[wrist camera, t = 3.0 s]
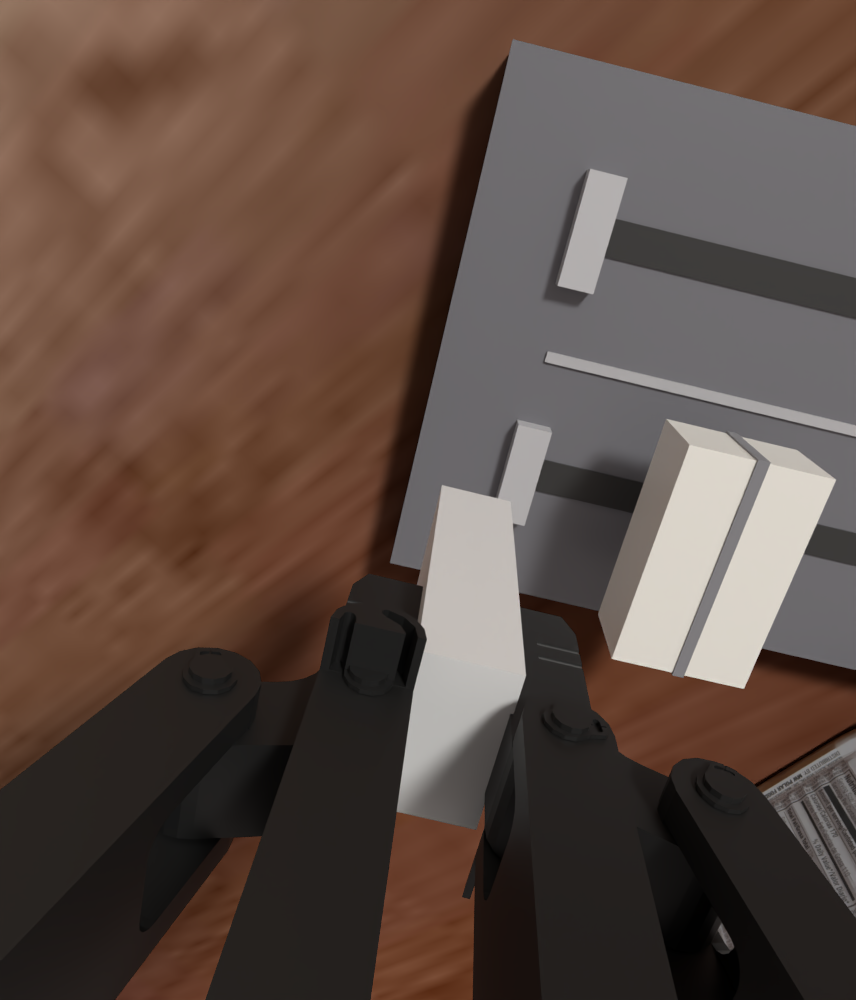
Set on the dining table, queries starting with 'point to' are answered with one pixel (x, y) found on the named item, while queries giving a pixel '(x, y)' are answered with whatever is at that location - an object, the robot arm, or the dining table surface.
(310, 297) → the dining table surface
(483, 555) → the robot arm
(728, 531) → the fader cream
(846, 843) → the tin
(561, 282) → the console
